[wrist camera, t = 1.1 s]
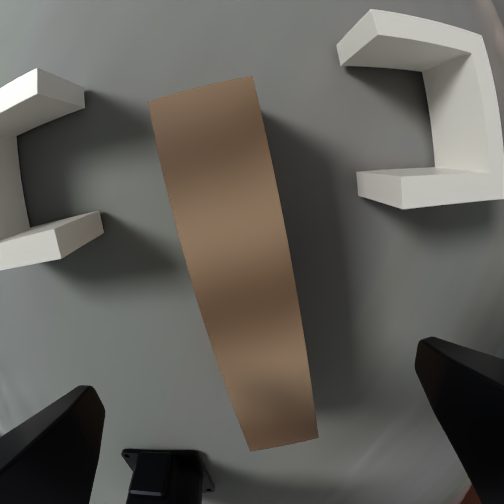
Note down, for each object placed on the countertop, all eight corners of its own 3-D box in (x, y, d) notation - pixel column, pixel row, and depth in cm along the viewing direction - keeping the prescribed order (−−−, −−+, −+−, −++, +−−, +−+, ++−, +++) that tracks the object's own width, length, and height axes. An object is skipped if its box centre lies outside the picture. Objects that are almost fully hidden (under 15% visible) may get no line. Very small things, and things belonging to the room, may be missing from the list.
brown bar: (301, 379, 18) (318, 437, 13) (246, 391, 18) (250, 451, 13) (247, 104, 14) (252, 75, 9) (175, 121, 14) (147, 101, 9)
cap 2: (451, 187, 15) (505, 198, 10) (358, 195, 15) (402, 209, 10) (433, 55, 12) (481, 35, 8) (336, 45, 12) (370, 9, 8)
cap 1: (104, 233, 15) (61, 258, 10) (21, 250, 15) (-26, 275, 10) (83, 87, 12) (37, 68, 8) (2, 124, 12) (-48, 121, 8)
